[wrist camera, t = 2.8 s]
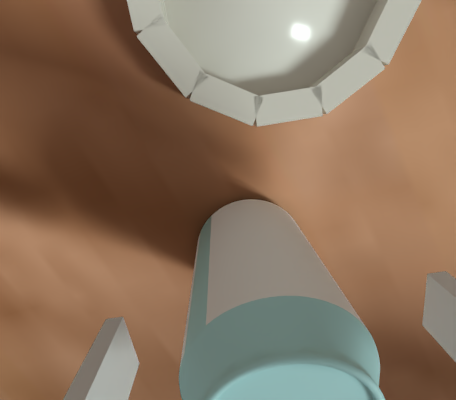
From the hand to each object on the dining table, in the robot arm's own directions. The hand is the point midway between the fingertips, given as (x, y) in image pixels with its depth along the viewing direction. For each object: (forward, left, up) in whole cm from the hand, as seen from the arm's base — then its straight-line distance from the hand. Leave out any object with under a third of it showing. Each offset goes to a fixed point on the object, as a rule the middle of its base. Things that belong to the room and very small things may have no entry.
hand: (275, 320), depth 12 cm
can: (0, 0, -8) cm, 8 cm away
